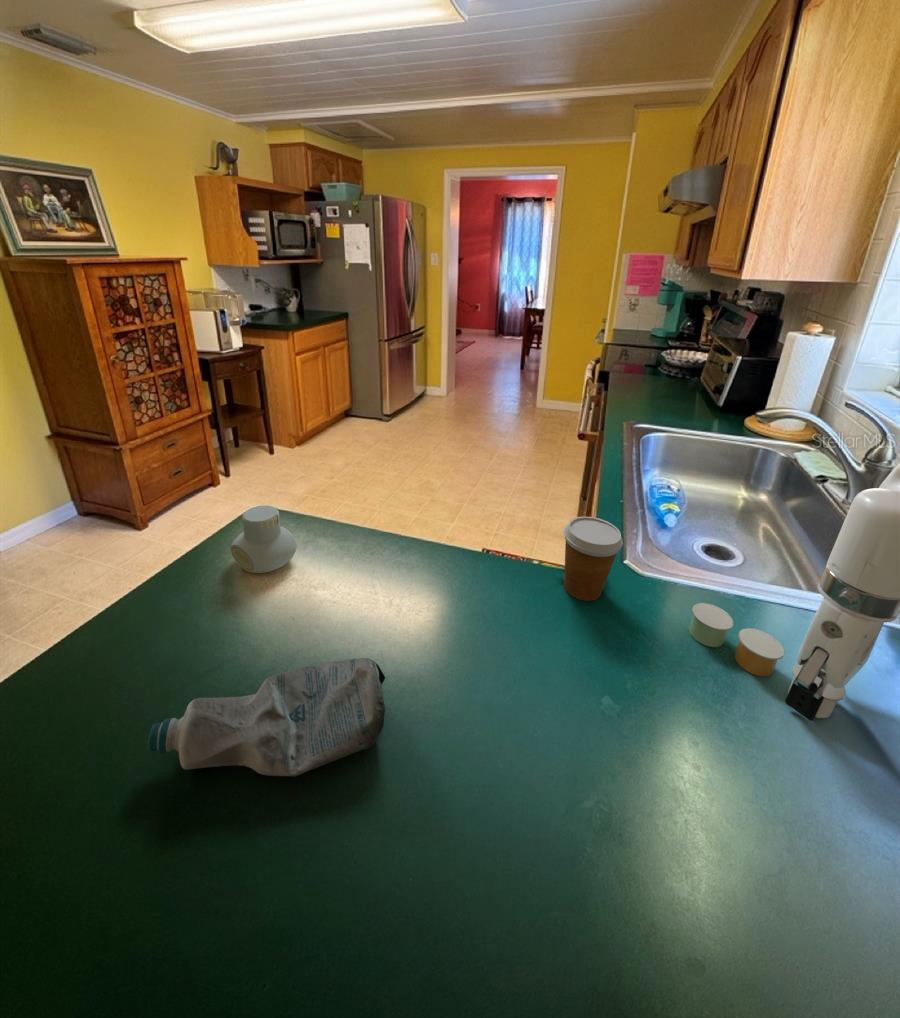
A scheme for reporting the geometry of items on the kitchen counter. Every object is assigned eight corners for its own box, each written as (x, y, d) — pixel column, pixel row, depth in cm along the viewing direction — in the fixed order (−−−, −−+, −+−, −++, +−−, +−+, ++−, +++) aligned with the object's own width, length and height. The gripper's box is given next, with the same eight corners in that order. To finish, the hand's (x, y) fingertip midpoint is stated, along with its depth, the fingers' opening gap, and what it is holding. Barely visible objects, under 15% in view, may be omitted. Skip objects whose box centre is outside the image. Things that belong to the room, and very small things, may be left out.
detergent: (381, 671, 63) (175, 698, 57) (383, 633, 60) (165, 657, 54) (392, 775, 52) (136, 822, 46) (395, 735, 49) (121, 780, 43)
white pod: (818, 687, 65) (828, 666, 64) (845, 724, 60) (856, 702, 58) (775, 681, 66) (784, 660, 64) (798, 717, 60) (808, 695, 59)
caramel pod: (763, 651, 71) (772, 631, 70) (783, 682, 66) (792, 661, 64) (725, 645, 72) (732, 625, 70) (741, 676, 66) (749, 655, 65)
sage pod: (717, 624, 76) (724, 605, 74) (732, 651, 71) (739, 631, 69) (681, 620, 76) (687, 600, 75) (693, 646, 71) (700, 626, 70)
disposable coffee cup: (553, 600, 79) (564, 540, 74) (555, 567, 87) (565, 511, 83) (612, 613, 77) (627, 551, 72) (608, 577, 85) (621, 520, 81)
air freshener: (227, 560, 84) (220, 511, 80) (268, 540, 90) (263, 494, 86) (262, 586, 78) (256, 535, 74) (304, 563, 84) (301, 515, 80)
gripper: (871, 638, 49) (813, 757, 55) (924, 585, 57) (868, 692, 64) (791, 595, 54) (747, 707, 61) (851, 553, 63) (806, 655, 70)
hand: (810, 699), depth 63 cm, fingers closed on white pod, 5 cm apart
